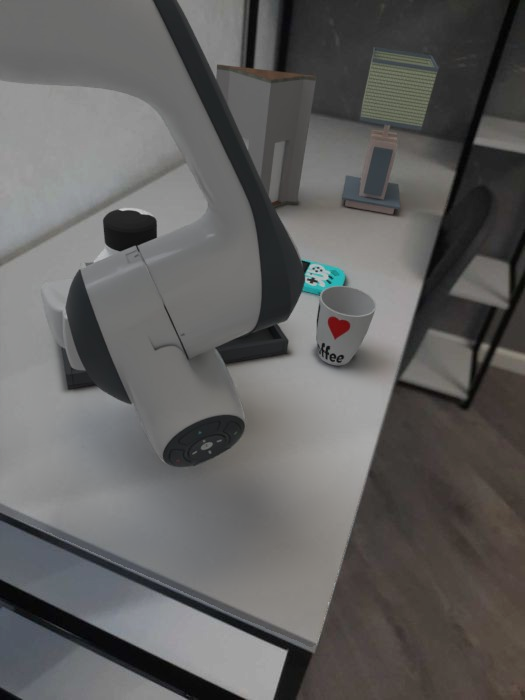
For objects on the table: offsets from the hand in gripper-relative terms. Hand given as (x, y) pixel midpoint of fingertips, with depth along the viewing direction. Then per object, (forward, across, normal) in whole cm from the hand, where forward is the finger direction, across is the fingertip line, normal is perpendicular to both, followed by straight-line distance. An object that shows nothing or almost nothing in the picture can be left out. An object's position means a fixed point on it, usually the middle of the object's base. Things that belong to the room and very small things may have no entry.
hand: (128, 263), depth 62 cm
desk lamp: (+51, -71, +18) cm, 89 cm away
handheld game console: (+18, -35, +17) cm, 44 cm away
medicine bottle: (+1, -1, +7) cm, 7 cm away
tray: (+6, -7, +17) cm, 19 cm away
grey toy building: (+51, -39, +18) cm, 67 cm away
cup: (-4, -30, +17) cm, 35 cm away
